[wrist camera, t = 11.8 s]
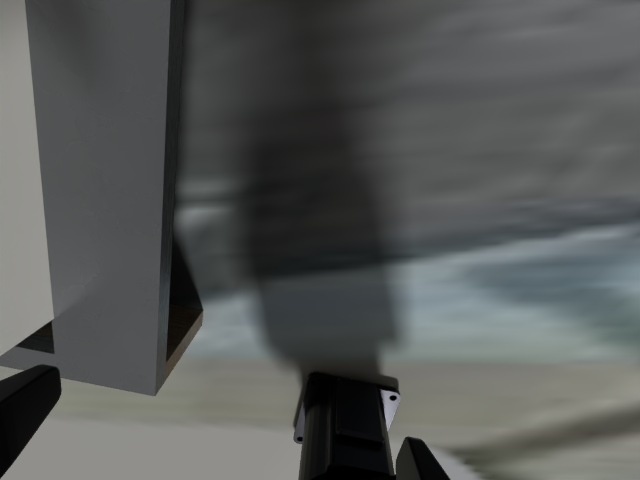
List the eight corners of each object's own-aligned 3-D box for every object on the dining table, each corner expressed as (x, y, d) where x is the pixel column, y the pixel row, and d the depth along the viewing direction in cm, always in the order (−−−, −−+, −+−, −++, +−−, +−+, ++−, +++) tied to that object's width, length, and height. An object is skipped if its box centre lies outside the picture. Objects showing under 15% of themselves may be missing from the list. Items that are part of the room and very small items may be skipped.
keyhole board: (201, 325, 22) (155, 396, 16) (-8, 282, 22) (-130, 340, 16) (241, -90, 14) (179, -224, 9) (-82, -166, 14) (-362, -357, 8)
